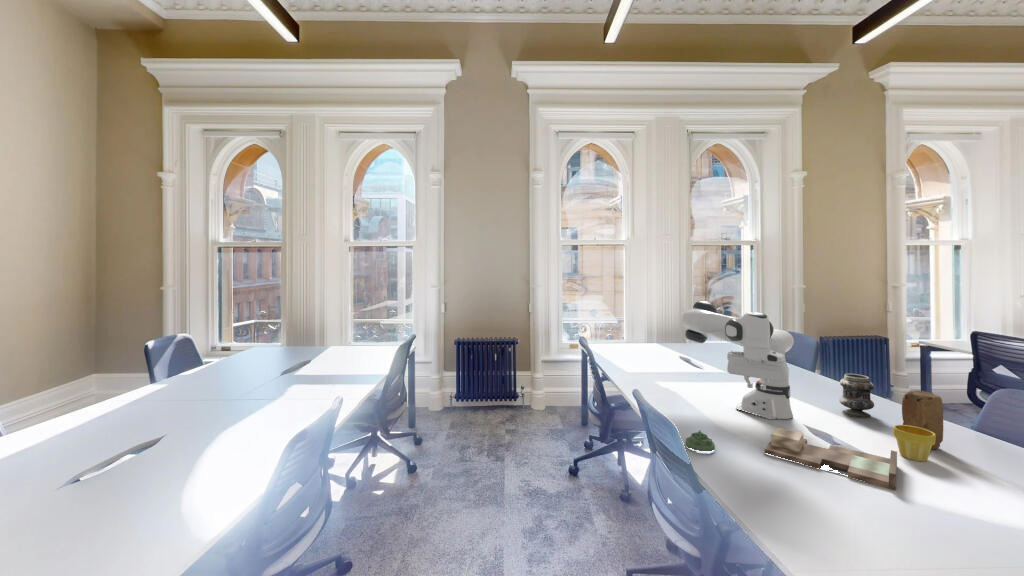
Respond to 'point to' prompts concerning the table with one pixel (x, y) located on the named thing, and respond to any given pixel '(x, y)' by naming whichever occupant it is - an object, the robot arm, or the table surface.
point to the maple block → (787, 439)
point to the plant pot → (914, 441)
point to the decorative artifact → (700, 442)
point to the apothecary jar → (856, 395)
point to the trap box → (844, 462)
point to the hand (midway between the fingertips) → (756, 388)
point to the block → (924, 413)
